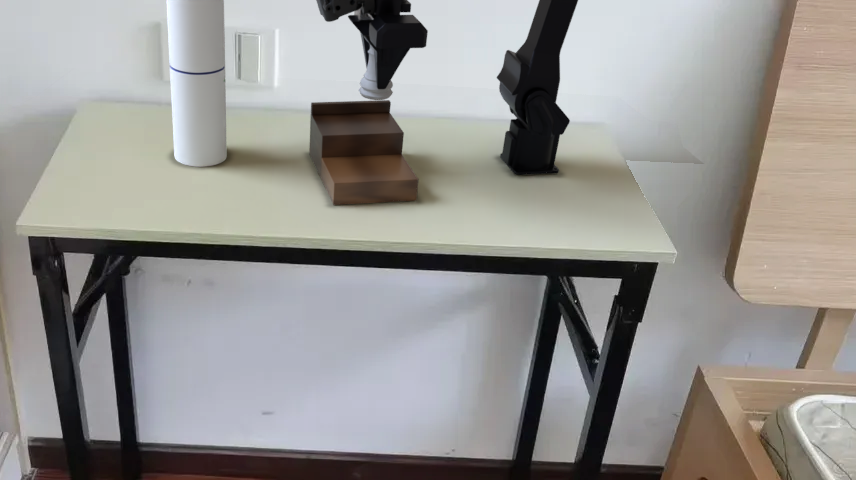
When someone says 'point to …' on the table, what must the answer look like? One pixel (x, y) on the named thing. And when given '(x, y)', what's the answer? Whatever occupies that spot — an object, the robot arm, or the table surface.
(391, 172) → the brown wooden stepped block
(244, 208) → the table surface
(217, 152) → the cylindrical container
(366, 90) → the rook chess piece
